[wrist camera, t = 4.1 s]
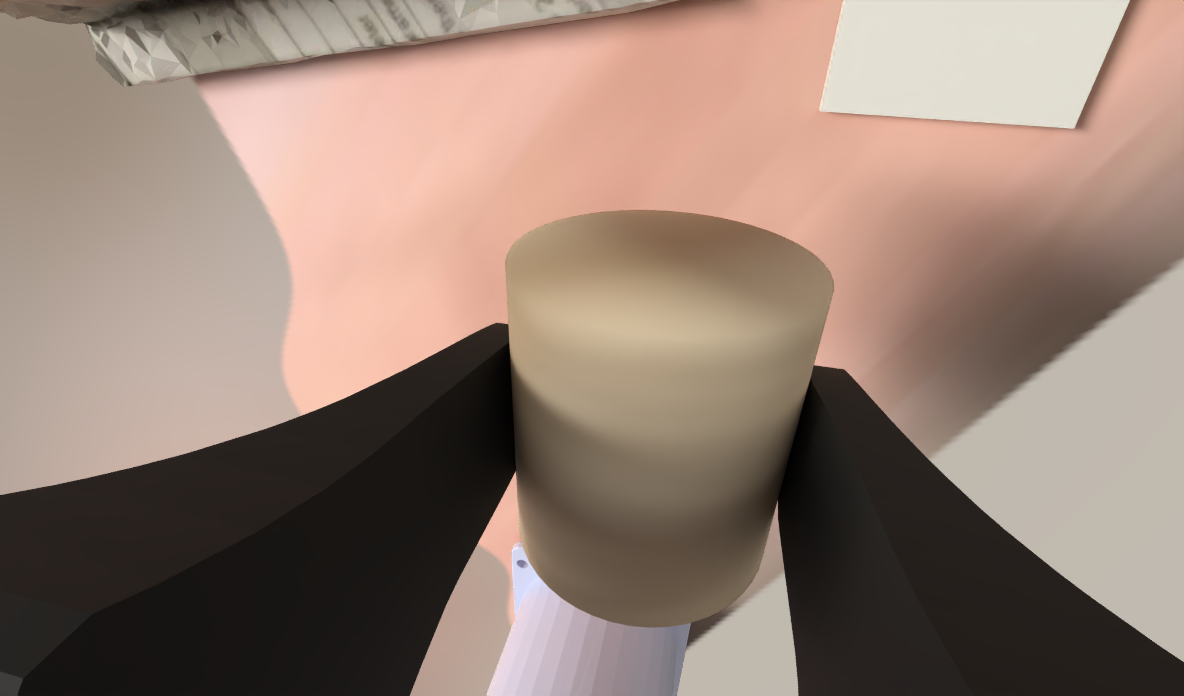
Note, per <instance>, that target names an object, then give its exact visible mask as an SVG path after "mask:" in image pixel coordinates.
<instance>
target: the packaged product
mask: <svg viewBox="0 0 1184 696" xmlns="http://www.w3.org/2000/svg"><path fill="white" fill-rule="evenodd" d="M674 1H678V0H0V12H2V13H7V14H8V15H10V16H12V17H14V18H16V19H20V18H25V17H29V16H33V17H37V18H40V19H43V20H46V21H52V22H58V23H65V24H78V23H84V24H85V25H86V27H87V29H88V32H89V34H90V36H91V38H92V41H93V43H94V46H95V49H96V61H97V62H98V63H99V64H100V65H101V66H102V67H103V68H104V69H105V70H106V71H107V72H108V73H109V74H110V75H111V76H112V77H113V78H114V79H115V80H117V81H118V82H119V83H120V84H121V85H122V86H123V87H125V86H137V85H148V84H159V83H163V82H167V81H172V80H176V79H181V78H185V77H190V76H194V75H199V74H205V73H213V72H221V71H229V70H238V69H246V68H254V67H262V66H270V65H278V64H286V63H294V62H298V61H302V60H306V59H310V58H314V57H318V56H322V55H330V54H338V53H346V52H354V51H363V50H372V49H381V48H390V47H399V46H408V45H417V44H424V43H430V42H436V41H442V40H448V39H454V38H459V37H465V36H470V35H476V34H484V33H491V32H499V31H505V30H512V29H519V28H526V27H533V26H540V25H546V24H553V23H560V22H567V21H574V20H581V19H587V18H594V17H601V16H608V15H615V14H621V13H628V12H633V11H637V10H641V9H645V8H649V7H653V6H658V5H662V4H666V3H670V2H674Z"/></svg>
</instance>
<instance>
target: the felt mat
mask: <svg viewBox="0 0 1184 696" xmlns="http://www.w3.org/2000/svg"><path fill="white" fill-rule="evenodd" d="M1129 1H1130V0H843V2H842V7H841V12H840V16H839V21H838V25H837V30H836V34H835V39H834V44H833V48H832V53H831V57H830V62H829V66H828V71H827V75H826V80H825V85H824V89H823V94H822V98H821V103H820V107H819V110H820V111H823V112H837V113H852V114H867V115H881V116H896V117H911V118H925V119H940V120H955V121H970V122H984V123H999V124H1014V125H1028V126H1043V127H1058V128H1072V129H1074V127H1075V125H1076V123H1077V121H1078V118H1079V116H1080V114H1081V111H1082V109H1083V107H1084V105H1085V102H1086V100H1087V98H1088V95H1089V93H1090V91H1091V88H1092V86H1093V84H1094V82H1095V79H1096V77H1097V75H1098V72H1099V70H1100V68H1101V65H1102V63H1103V61H1104V59H1105V56H1106V54H1107V52H1108V49H1109V47H1110V45H1111V43H1112V40H1113V38H1114V36H1115V33H1116V31H1117V29H1118V26H1119V24H1120V22H1121V20H1122V17H1123V15H1124V13H1125V10H1126V8H1127V6H1128V4H1129Z"/></svg>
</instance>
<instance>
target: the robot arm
mask: <svg viewBox="0 0 1184 696" xmlns="http://www.w3.org/2000/svg"><path fill="white" fill-rule="evenodd" d="M515 471H516V459H515V440H514V421H513V401H512V382H511V363H510V344H509V324H502V323H495V324H492V325H490V326H488V327H485V328H483V329H481V330H479V331H477V332H475V333H473V334H471V335H469V336H468V337H466V338H464V339H462V340H460V341H458V342H456V343H454V344H453V345H451V346H449V347H447V348H445V349H443V350H441V351H439V352H438V353H436V354H434V355H432V356H430V357H428V358H426V359H424V360H422V361H421V362H419V363H417V364H415V365H413V366H411V367H409V368H407V369H405V370H403V371H401V372H399V373H397V374H395V375H393V376H391V377H389V378H387V379H384V380H382V381H380V382H378V383H376V384H374V385H372V386H370V387H368V388H366V389H363V390H361V391H359V392H357V393H355V394H353V395H351V396H349V397H346V398H344V399H342V400H339V401H337V402H335V403H332V404H330V405H328V406H325V407H323V408H320V409H318V410H315V411H313V412H310V413H308V414H305V415H302V416H300V417H297V418H294V419H292V420H289V421H287V422H284V423H281V424H278V425H276V426H273V427H270V428H267V429H264V430H261V431H258V432H254V433H251V434H248V435H245V436H242V437H238V438H235V439H232V440H229V441H225V442H223V443H219V444H216V445H213V446H209V447H206V448H203V449H200V450H197V451H193V452H190V453H186V454H183V455H179V456H176V457H172V458H168V459H164V460H161V461H156V462H152V463H149V464H145V465H141V466H137V467H133V468H129V469H124V470H120V471H116V472H111V473H108V474H103V475H99V476H94V477H90V478H86V479H81V480H76V481H71V482H67V483H62V484H58V485H53V486H47V487H42V488H36V489H31V490H26V491H20V492H15V493H9V494H4V495H0V696H410V693H411V691H412V688H413V685H414V683H415V681H416V678H417V675H418V673H419V670H420V668H421V665H422V662H423V660H424V658H425V655H426V653H427V650H428V648H429V645H430V643H431V641H432V638H433V636H434V633H435V631H436V628H437V626H438V623H439V621H440V619H441V616H442V614H443V611H444V609H445V606H446V604H447V602H448V600H449V598H450V595H451V594H452V592H453V590H454V587H455V585H456V583H457V581H458V579H459V577H460V575H461V573H462V572H463V570H464V568H465V566H466V564H467V562H468V560H469V559H470V557H471V555H472V553H473V551H474V549H475V547H476V545H477V544H478V542H479V540H480V538H481V536H482V534H483V532H484V530H485V529H486V527H487V525H488V523H489V521H490V519H491V517H492V516H493V514H494V512H495V510H496V508H497V506H498V504H499V502H500V500H501V498H502V497H503V495H504V493H505V491H506V489H507V487H508V485H509V483H510V481H511V479H512V477H513V475H514V473H515ZM778 522H779V530H780V538H781V546H782V554H783V562H784V570H785V578H786V585H787V592H788V600H789V608H790V616H791V623H792V631H793V638H794V646H795V654H796V666H797V677H798V693H799V696H1184V662H1183V661H1181V660H1180V659H1178V658H1177V657H1175V656H1174V655H1172V654H1171V653H1169V652H1168V651H1166V650H1165V649H1163V648H1162V647H1160V646H1159V645H1157V644H1156V643H1155V642H1153V641H1152V640H1150V639H1149V638H1147V637H1146V636H1145V635H1143V634H1142V633H1140V632H1139V631H1138V630H1136V629H1135V628H1133V627H1132V626H1130V625H1129V624H1128V623H1126V622H1125V621H1124V620H1122V619H1121V618H1119V617H1118V616H1116V615H1115V614H1114V613H1112V612H1111V611H1109V610H1108V609H1106V608H1105V607H1104V606H1102V605H1101V604H1099V603H1098V602H1097V601H1095V600H1094V599H1092V598H1091V597H1090V596H1088V595H1087V594H1086V593H1084V592H1083V591H1082V590H1080V589H1079V588H1078V587H1076V586H1075V585H1074V584H1072V583H1071V582H1070V581H1068V580H1067V579H1066V578H1064V577H1063V576H1062V575H1060V574H1059V573H1058V572H1056V571H1055V570H1054V569H1053V568H1052V567H1050V566H1049V565H1048V564H1047V563H1045V562H1044V561H1043V560H1042V559H1040V558H1039V557H1038V556H1037V555H1035V554H1034V553H1033V552H1032V551H1030V550H1029V549H1028V548H1027V547H1025V546H1024V545H1023V544H1022V543H1020V542H1019V541H1018V540H1017V539H1016V538H1014V537H1013V536H1012V535H1011V534H1009V533H1008V532H1007V531H1005V530H1004V529H1003V528H1002V527H1001V526H1000V525H999V524H998V523H996V522H995V521H994V520H993V519H992V518H991V517H989V516H988V515H987V514H986V513H985V512H984V511H983V510H981V509H980V508H979V507H978V506H977V505H976V504H975V503H974V502H973V501H972V500H971V499H969V498H968V497H967V496H966V495H965V494H964V493H963V492H962V491H961V490H960V489H959V488H957V486H955V485H954V484H953V483H952V482H951V481H950V480H949V479H948V478H947V477H946V476H945V475H944V474H943V473H942V472H941V471H940V470H939V469H938V468H937V467H935V465H934V464H933V463H932V462H931V461H929V460H928V459H927V458H926V457H925V456H924V454H923V453H922V452H921V451H920V450H919V449H918V448H917V447H916V446H915V445H914V444H913V443H912V442H911V441H910V440H909V439H908V438H907V437H906V436H905V435H904V434H903V433H902V432H901V431H900V429H899V428H898V427H897V426H896V425H895V424H894V423H893V422H892V421H891V420H890V419H889V418H888V417H887V415H886V414H885V413H884V412H883V411H882V410H881V409H880V408H879V407H878V405H877V404H876V403H875V402H874V401H873V400H872V399H871V398H870V397H869V395H868V394H867V393H866V392H865V391H864V390H863V389H862V388H861V387H860V385H859V384H858V383H857V382H856V381H855V380H854V379H853V378H852V377H851V376H850V375H849V374H848V373H847V372H846V371H845V370H844V369H837V368H829V367H822V366H815V365H814V366H813V370H812V374H811V378H810V381H809V385H808V389H807V392H806V396H805V400H804V404H803V407H802V411H801V415H800V419H799V422H798V426H797V430H796V434H795V437H794V441H793V445H792V448H791V452H790V456H789V460H788V463H787V467H786V471H785V475H784V478H783V482H782V486H781V490H780V493H779V497H778ZM511 554H512V573H513V591H514V610H515V620H514V623H513V626H512V628H511V631H510V634H509V636H508V639H507V642H506V644H505V647H504V650H503V653H502V655H501V658H500V660H499V663H498V666H497V668H496V671H495V674H494V676H493V679H492V682H491V684H490V687H489V690H488V693H487V695H486V696H677V691H678V686H679V681H680V675H681V670H682V665H683V661H684V655H685V651H686V646H687V640H688V635H689V630H690V625H691V623H689V624H684V625H678V626H672V627H655V628H647V627H635V626H627V625H623V624H618V623H613V622H609V621H606V620H604V619H601V618H598V617H595V616H592V615H590V614H588V613H586V612H584V611H582V610H580V609H577V608H576V607H574V606H573V605H571V604H569V603H568V602H566V601H565V600H563V599H562V598H560V597H559V596H558V595H557V594H556V593H555V592H553V591H552V590H551V589H550V588H549V587H548V586H547V585H546V584H545V583H544V582H543V581H542V580H541V578H540V577H539V576H538V575H537V573H536V572H535V570H534V569H533V567H532V566H531V564H530V563H529V561H528V558H527V556H526V554H525V552H524V549H523V546H522V542H518V543H516V544H515V545H514V547H513V549H512V553H511Z"/></svg>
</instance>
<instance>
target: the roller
mask: <svg viewBox="0 0 1184 696" xmlns="http://www.w3.org/2000/svg"><path fill="white" fill-rule="evenodd" d="M505 266H506V286H507V305H508V324H509V344H510V363H511V382H512V401H513V421H514V440H515V459H516V479H517V498H518V517H519V531H520V539H521V542H522V546H523V549H524V552H525V554H526V556H527V558H528V561H529V563H530V564H531V566H532V567H533V569H534V570H535V572H536V573H537V575H538V576H539V577H540V578H541V580H542V581H543V582H544V583H545V584H546V585H547V586H548V587H549V588H550V589H551V590H552V591H553V592H555V593H556V594H557V595H558V596H559V597H560V598H562V599H563V600H565V601H566V602H568V603H569V604H571V605H573V606H574V607H576V608H577V609H580V610H582V611H584V612H586V613H588V614H590V615H592V616H595V617H598V618H601V619H604V620H606V621H609V622H613V623H618V624H623V625H627V626H635V627H647V628H655V627H672V626H678V625H684V624H689V623H692V622H695V621H699V620H702V619H705V618H707V617H709V616H711V615H713V614H715V613H718V612H720V611H721V610H723V609H724V608H726V607H727V606H729V605H730V604H732V603H733V602H734V601H735V600H736V599H737V598H738V597H740V596H741V595H742V594H743V593H744V592H745V590H746V589H747V588H748V586H749V585H750V584H751V583H752V581H753V579H754V577H755V575H756V573H757V572H758V570H759V566H760V563H761V560H762V557H763V553H764V549H765V545H766V542H767V538H768V534H769V531H770V527H771V523H772V519H773V516H774V512H775V508H776V504H777V501H778V497H779V493H780V490H781V486H782V482H783V478H784V475H785V471H786V467H787V463H788V460H789V456H790V452H791V448H792V445H793V441H794V437H795V434H796V430H797V426H798V422H799V419H800V415H801V411H802V407H803V404H804V400H805V396H806V392H807V389H808V385H809V381H810V378H811V374H812V370H813V366H814V363H815V359H816V355H817V351H818V348H819V344H820V340H821V336H822V333H823V329H824V325H825V322H826V318H827V314H828V310H829V307H830V303H831V299H832V295H833V292H834V281H833V278H832V275H831V273H830V271H829V270H828V268H827V267H826V266H825V264H824V263H823V262H822V261H821V260H820V259H819V258H818V257H817V256H815V255H814V254H813V253H811V252H810V251H808V250H807V249H805V248H804V247H802V246H800V245H799V244H797V243H795V242H793V241H791V240H789V239H787V238H785V237H783V236H780V235H778V234H775V233H773V232H770V231H767V230H764V229H761V228H758V227H755V226H752V225H748V224H745V223H741V222H737V221H733V220H728V219H723V218H718V217H713V216H707V215H700V214H693V213H684V212H673V211H656V210H625V211H609V212H599V213H591V214H584V215H579V216H573V217H569V218H565V219H561V220H557V221H554V222H551V223H548V224H545V225H543V226H541V227H538V228H536V229H534V230H532V231H530V232H528V233H527V234H525V235H524V236H522V237H521V238H520V239H518V240H517V241H516V242H515V243H514V244H513V245H512V247H511V248H510V250H509V252H508V253H507V257H506V262H505Z"/></svg>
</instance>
